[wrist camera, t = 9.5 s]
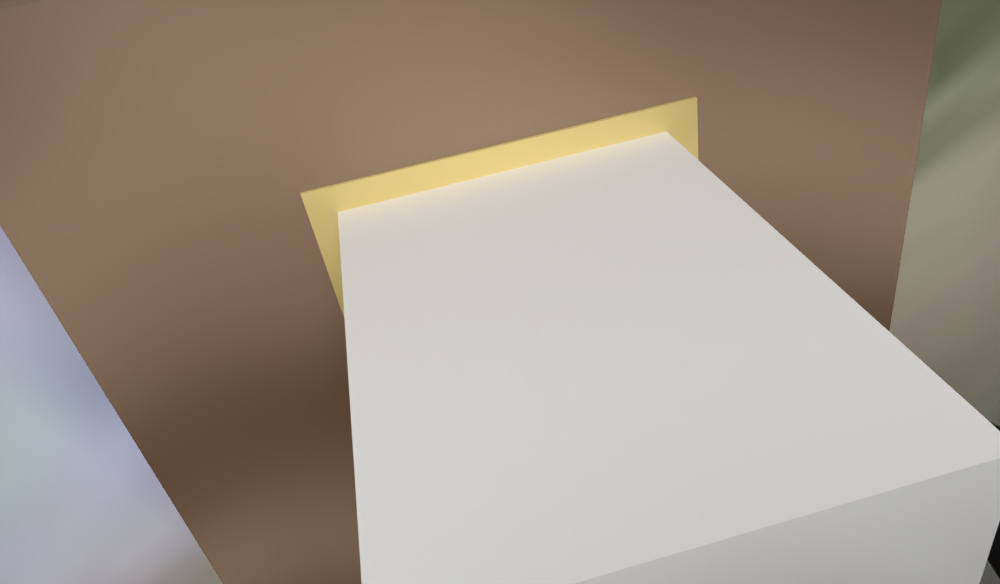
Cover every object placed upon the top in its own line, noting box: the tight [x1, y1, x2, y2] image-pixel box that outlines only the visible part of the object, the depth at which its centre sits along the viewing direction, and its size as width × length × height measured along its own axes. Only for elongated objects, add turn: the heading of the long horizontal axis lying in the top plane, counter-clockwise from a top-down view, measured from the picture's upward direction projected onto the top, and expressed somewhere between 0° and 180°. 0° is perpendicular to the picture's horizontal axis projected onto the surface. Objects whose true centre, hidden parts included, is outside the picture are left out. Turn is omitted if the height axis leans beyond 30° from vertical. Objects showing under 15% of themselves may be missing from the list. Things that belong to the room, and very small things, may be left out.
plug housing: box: [338, 131, 1000, 584], centre depth 9 cm, size 8×4×6 cm, turn 9°
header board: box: [0, 0, 942, 584], centre depth 11 cm, size 14×12×5 cm
